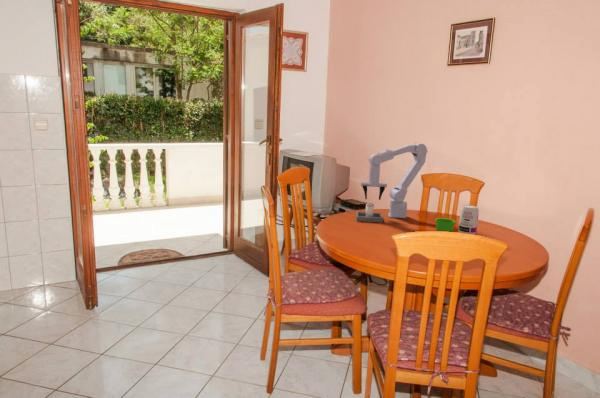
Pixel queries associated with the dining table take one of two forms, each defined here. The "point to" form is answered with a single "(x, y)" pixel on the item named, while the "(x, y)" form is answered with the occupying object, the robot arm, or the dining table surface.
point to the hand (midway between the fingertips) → (372, 199)
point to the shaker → (369, 210)
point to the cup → (444, 224)
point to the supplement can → (468, 219)
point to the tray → (376, 217)
